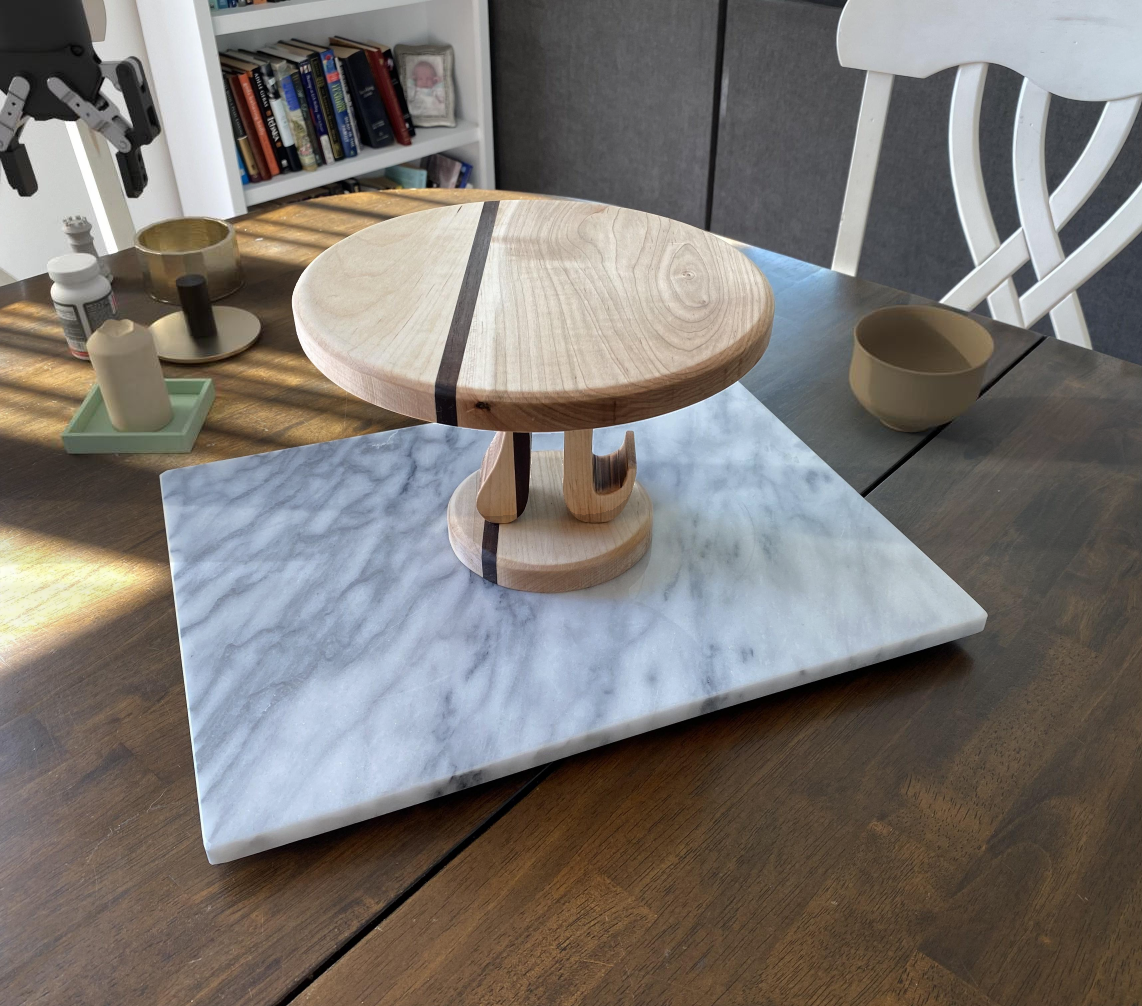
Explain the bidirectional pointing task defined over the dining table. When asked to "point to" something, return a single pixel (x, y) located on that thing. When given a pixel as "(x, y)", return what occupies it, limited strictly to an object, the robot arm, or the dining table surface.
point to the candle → (130, 377)
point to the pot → (189, 256)
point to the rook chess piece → (84, 241)
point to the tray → (178, 436)
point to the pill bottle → (81, 299)
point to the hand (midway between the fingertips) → (83, 194)
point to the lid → (202, 327)
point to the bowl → (918, 365)
